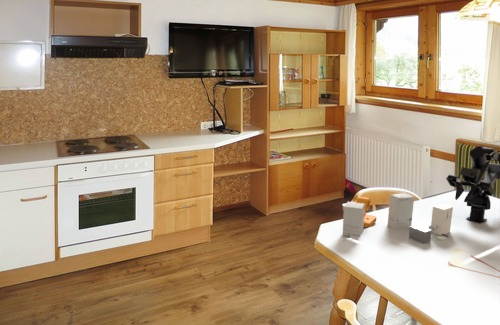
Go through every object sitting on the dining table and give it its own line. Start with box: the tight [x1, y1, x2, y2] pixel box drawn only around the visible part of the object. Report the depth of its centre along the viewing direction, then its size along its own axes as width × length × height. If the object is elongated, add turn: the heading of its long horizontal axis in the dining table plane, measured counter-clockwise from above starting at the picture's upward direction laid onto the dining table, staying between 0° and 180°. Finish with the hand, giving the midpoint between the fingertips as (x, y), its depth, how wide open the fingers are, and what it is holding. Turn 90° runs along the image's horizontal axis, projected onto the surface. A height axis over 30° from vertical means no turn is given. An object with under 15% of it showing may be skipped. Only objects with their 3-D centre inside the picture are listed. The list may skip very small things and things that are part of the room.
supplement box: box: [342, 201, 365, 237], centre depth 183 cm, size 7×7×13 cm
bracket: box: [355, 196, 377, 228], centre depth 194 cm, size 11×7×12 cm, turn 147°
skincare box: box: [387, 193, 415, 230], centre depth 188 cm, size 8×6×15 cm
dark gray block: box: [408, 224, 432, 245], centre depth 175 cm, size 4×7×5 cm, turn 34°
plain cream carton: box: [428, 203, 454, 238], centre depth 180 cm, size 10×8×11 cm
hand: (460, 200), depth 187 cm, fingers open, 4 cm apart
